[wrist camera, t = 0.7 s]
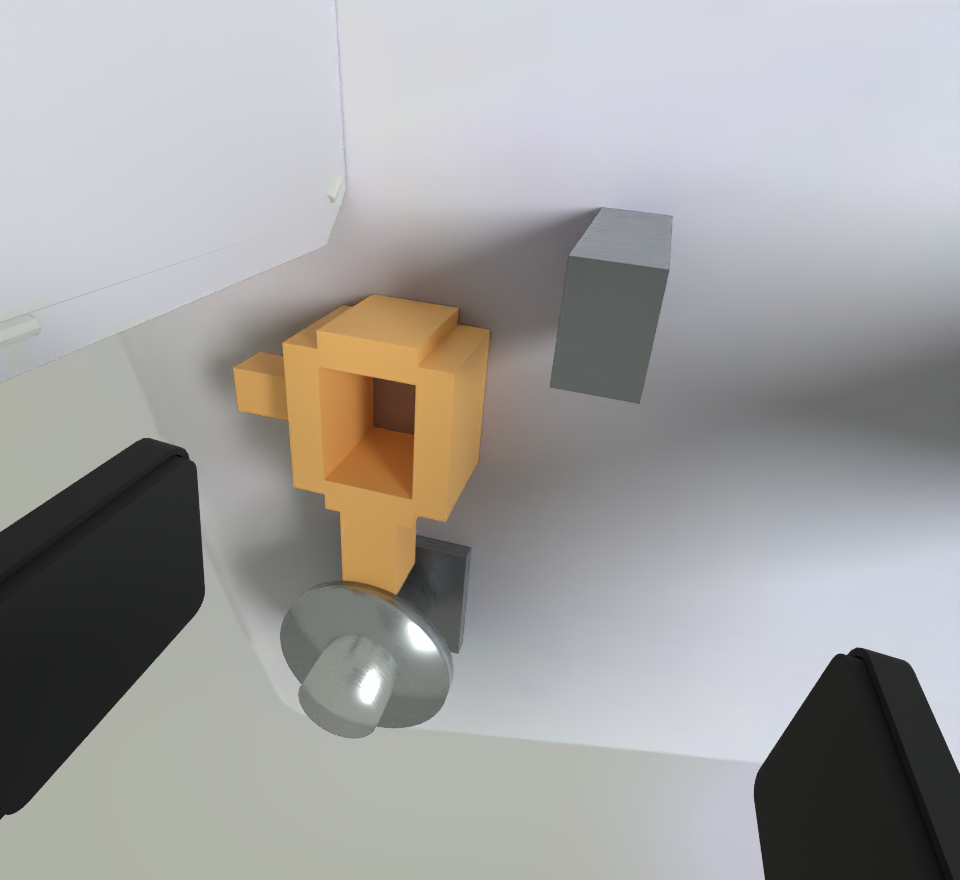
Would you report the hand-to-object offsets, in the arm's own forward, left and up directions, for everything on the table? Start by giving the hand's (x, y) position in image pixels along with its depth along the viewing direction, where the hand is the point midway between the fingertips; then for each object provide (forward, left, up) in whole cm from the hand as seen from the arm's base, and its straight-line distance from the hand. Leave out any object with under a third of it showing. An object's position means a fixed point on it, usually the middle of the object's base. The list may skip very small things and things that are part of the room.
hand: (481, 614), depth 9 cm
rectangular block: (-1, 0, -23) cm, 23 cm away
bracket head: (+11, +10, -23) cm, 28 cm away
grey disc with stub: (+9, +22, -23) cm, 33 cm away
